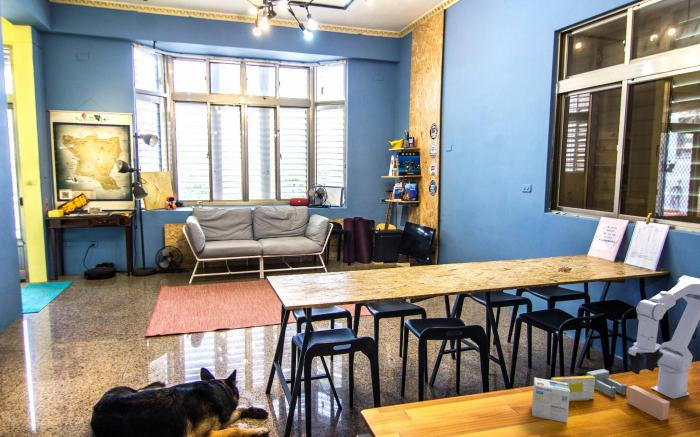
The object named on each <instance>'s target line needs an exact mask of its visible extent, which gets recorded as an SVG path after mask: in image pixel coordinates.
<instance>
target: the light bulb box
mask: <svg viewBox="0 0 700 437" xmlns="http://www.w3.org/2000/svg"><path fill="white" fill-rule="evenodd" d="M532 388H533V389H532V400H531V401H532V403H531V412H532V413H531V414H532V415H531V416H532V417H536V418H542V419H546V420H553V421H556V422H562V423H566V424H567V423H568V419H569V418H568V417H569V406H570V405H569V404H570V401H569V397H570V390H569V387H568V383H565V382H558V381H552V380H551V379H546V378H538V377H536V376H535V377H533V387H532Z"/></svg>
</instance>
